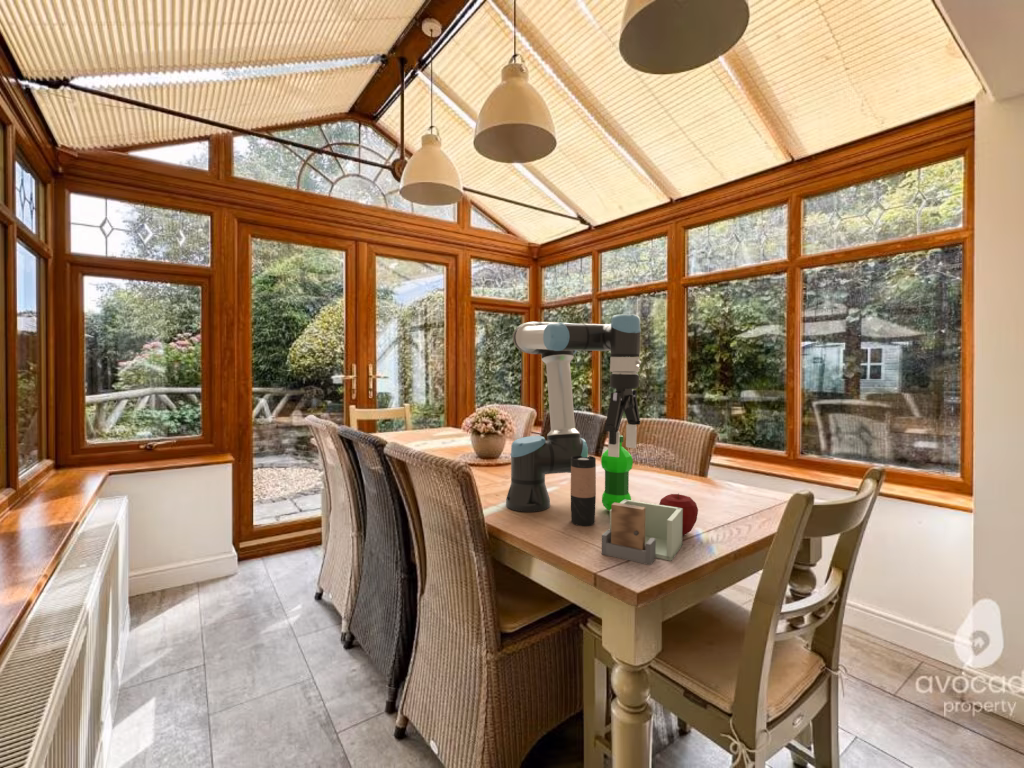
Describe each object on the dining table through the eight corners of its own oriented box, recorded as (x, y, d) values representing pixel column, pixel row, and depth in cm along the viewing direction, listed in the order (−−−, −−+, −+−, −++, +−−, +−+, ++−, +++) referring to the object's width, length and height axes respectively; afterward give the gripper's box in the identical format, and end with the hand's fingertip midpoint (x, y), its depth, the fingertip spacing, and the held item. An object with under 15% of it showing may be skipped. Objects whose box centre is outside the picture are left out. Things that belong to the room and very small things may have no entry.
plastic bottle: (613, 517, 148) (614, 439, 147) (594, 508, 158) (595, 434, 157) (639, 513, 152) (639, 437, 151) (619, 504, 162) (619, 432, 161)
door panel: (610, 555, 119) (610, 505, 118) (614, 552, 121) (614, 502, 121) (641, 562, 115) (642, 510, 114) (644, 558, 117) (645, 507, 117)
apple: (653, 527, 140) (653, 488, 140) (689, 527, 140) (690, 488, 139) (664, 540, 129) (664, 498, 128) (703, 541, 129) (704, 499, 128)
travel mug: (580, 528, 139) (580, 461, 138) (565, 520, 146) (565, 456, 145) (600, 524, 143) (601, 458, 142) (585, 516, 149) (585, 454, 149)
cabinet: (601, 554, 120) (601, 515, 120) (623, 533, 134) (623, 499, 134) (666, 568, 111) (666, 527, 111) (682, 545, 126) (682, 508, 125)
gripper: (621, 375, 113) (619, 462, 114) (652, 372, 133) (650, 445, 135) (592, 374, 117) (591, 458, 118) (626, 371, 137) (624, 442, 139)
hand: (622, 452), depth 126 cm, fingers open, 13 cm apart
